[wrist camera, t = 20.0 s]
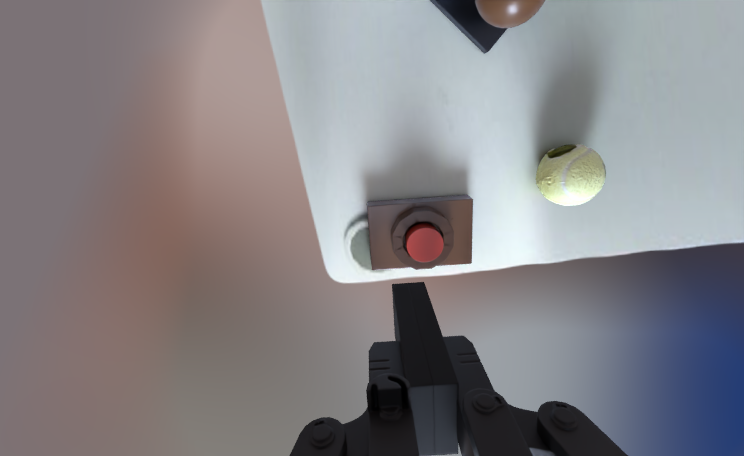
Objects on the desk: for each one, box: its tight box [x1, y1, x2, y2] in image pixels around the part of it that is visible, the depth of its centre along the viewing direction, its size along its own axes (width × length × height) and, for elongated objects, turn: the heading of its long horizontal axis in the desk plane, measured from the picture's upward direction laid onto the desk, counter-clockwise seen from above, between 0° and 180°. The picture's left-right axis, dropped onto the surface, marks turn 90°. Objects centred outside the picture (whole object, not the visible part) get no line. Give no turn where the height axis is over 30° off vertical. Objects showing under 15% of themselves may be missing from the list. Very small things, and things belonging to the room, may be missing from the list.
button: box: [405, 223, 444, 262], centre depth 39 cm, size 4×4×2 cm
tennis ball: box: [536, 144, 606, 206], centre depth 38 cm, size 6×7×7 cm
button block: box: [367, 195, 473, 270], centre depth 42 cm, size 12×8×4 cm, turn 94°
